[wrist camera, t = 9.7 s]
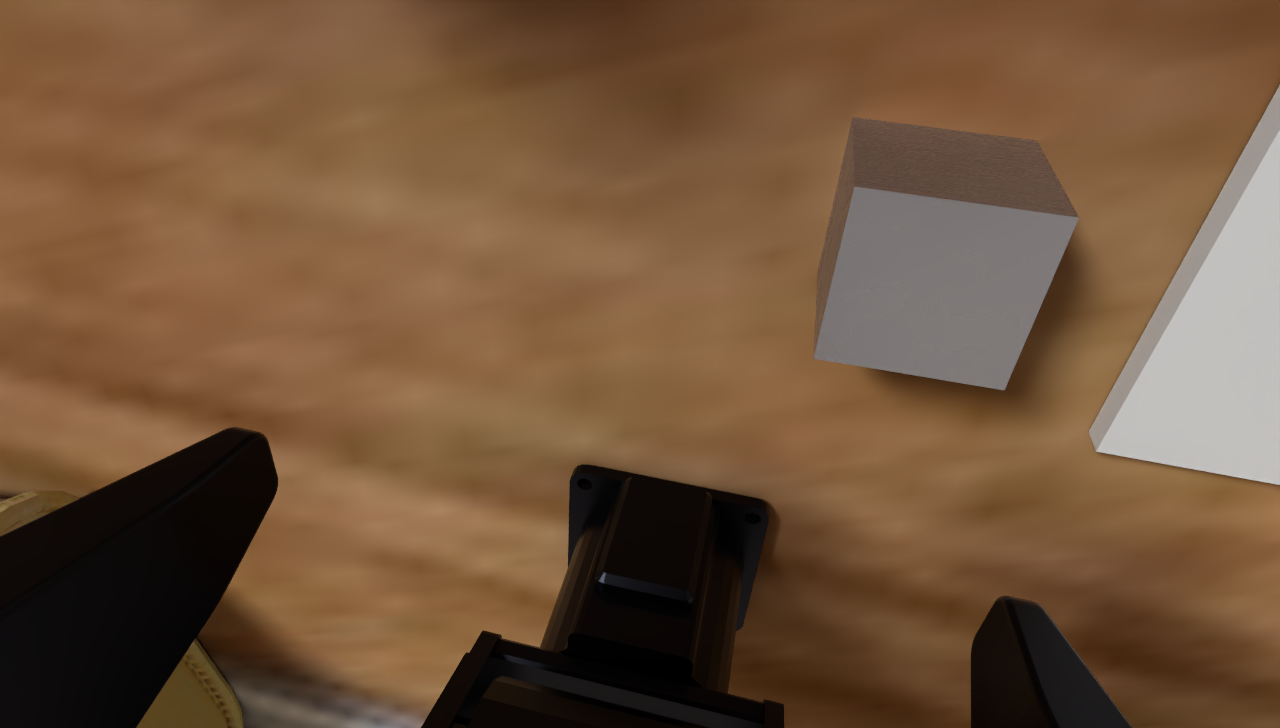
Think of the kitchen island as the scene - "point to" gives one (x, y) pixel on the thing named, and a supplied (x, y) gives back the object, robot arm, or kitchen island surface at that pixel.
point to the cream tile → (1213, 338)
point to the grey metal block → (938, 252)
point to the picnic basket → (196, 691)
